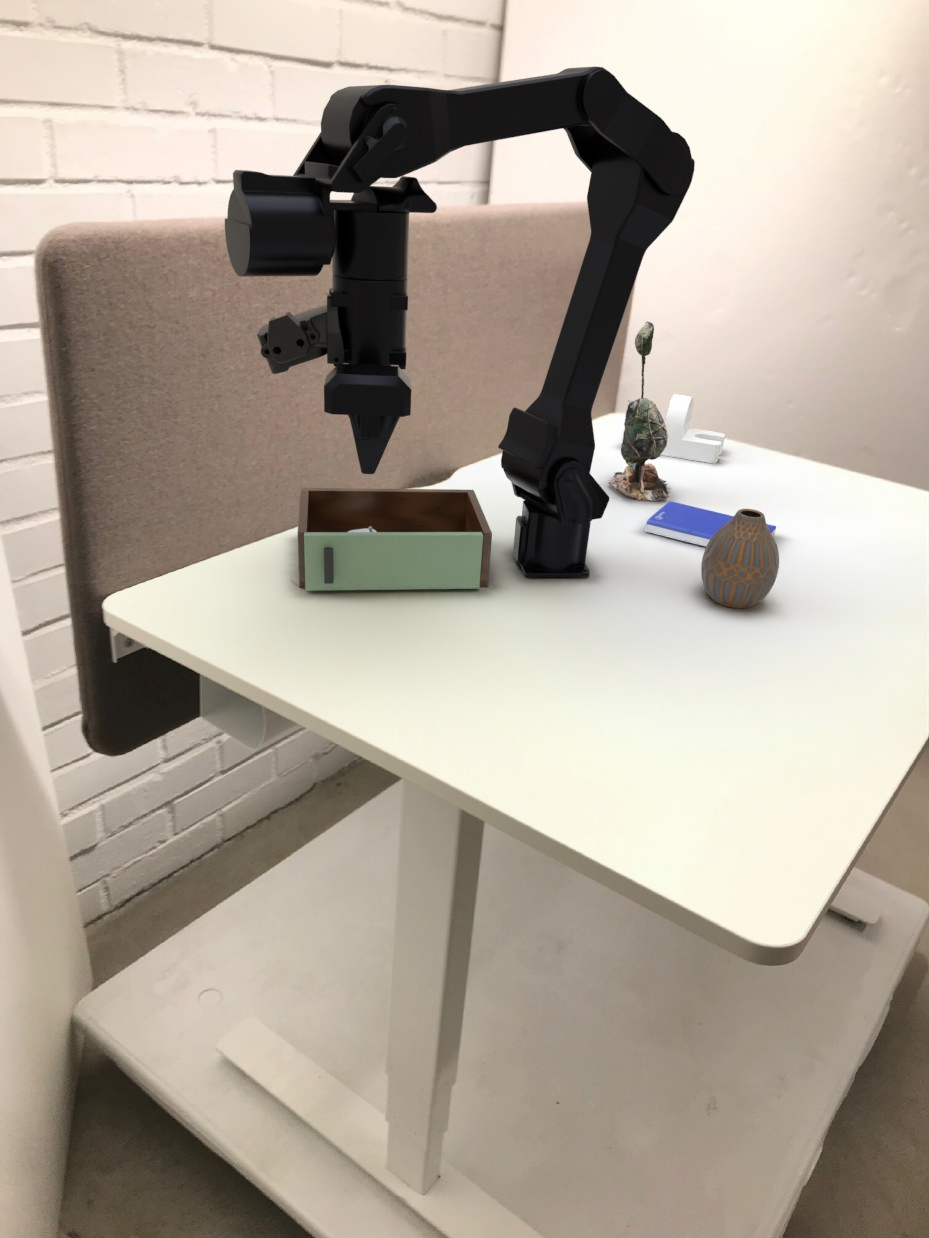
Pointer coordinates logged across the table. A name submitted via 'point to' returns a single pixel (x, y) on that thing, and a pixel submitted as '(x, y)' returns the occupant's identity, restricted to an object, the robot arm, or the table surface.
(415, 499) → the crate
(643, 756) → the table surface
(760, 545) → the vase
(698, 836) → the table surface
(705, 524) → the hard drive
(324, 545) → the door
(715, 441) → the slotted bracket
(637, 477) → the plant with pod
